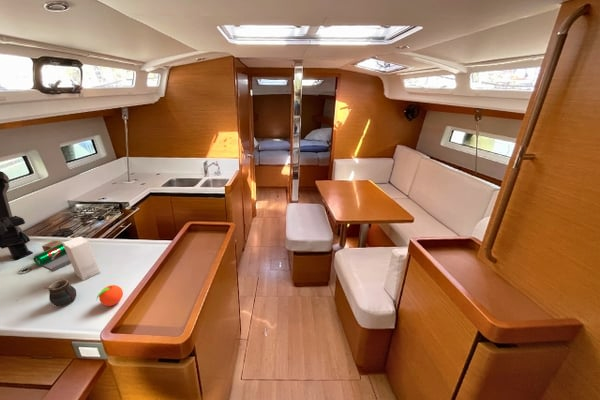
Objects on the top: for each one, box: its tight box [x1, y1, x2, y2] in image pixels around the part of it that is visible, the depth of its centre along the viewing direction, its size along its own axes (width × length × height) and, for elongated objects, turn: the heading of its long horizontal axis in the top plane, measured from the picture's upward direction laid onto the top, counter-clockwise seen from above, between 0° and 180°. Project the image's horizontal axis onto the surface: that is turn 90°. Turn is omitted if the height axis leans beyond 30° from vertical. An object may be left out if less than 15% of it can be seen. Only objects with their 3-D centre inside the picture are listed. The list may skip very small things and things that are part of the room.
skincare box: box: [62, 235, 101, 281], centre depth 108 cm, size 8×7×16 cm
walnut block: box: [41, 240, 63, 252], centre depth 125 cm, size 5×5×5 cm
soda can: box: [32, 244, 66, 267], centre depth 120 cm, size 5×5×12 cm
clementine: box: [96, 284, 124, 307], centre depth 94 cm, size 8×7×7 cm
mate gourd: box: [44, 279, 77, 307], centre depth 94 cm, size 7×8×10 cm
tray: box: [42, 253, 72, 272], centre depth 121 cm, size 14×13×2 cm
